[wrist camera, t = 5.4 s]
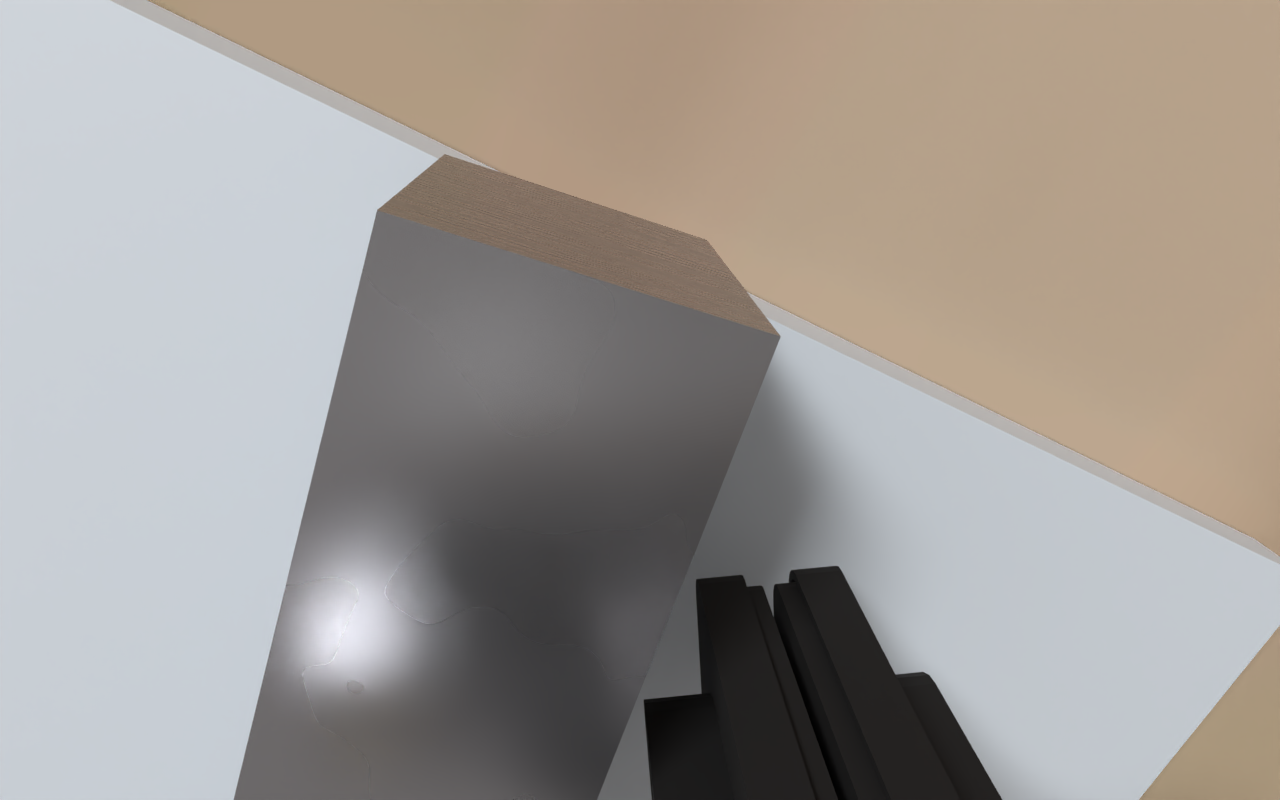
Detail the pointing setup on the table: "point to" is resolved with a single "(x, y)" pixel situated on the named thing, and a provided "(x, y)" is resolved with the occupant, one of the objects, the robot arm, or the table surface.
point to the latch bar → (501, 496)
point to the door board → (297, 410)
